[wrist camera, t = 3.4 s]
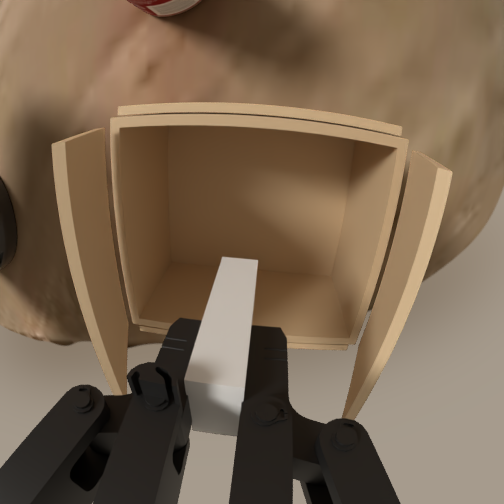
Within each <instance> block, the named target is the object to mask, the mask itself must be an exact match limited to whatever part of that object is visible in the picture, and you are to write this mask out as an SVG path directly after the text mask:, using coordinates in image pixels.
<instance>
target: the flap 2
mask: <svg viewBox="0 0 504 504" xmlns="http://www.w3.org/2000/svg"><path fill="white" fill-rule="evenodd" d="M452 173H453V172H452V171H450V170H449V169H447V168H446V167H444V166H443V165H441V164H439V163H438V162H436V161H434V160H433V159H431V158H430V157H428V156H426V155H424V154H423V153H421V152H417V151H413V150H412V155H411V161H410V166H409V172H408V177H407V183H406V188H405V193H404V197H403V202H402V207H401V211H400V215H399V220H398V224H397V228H396V232H395V236H394V239H393V243H392V247H391V251H390V254H389V258H388V261H387V265H386V268H385V271H384V275H383V278H382V281H381V284H380V287H379V291H378V294H377V297H376V300H375V303H374V305H373V308H372V311H371V314H370V317H369V320H368V322H367V325H366V328H365V330H364V333H363V336H362V338H361V341H360V344H359V347H358V352H357V357H356V362H355V366H354V371H353V375H352V380H351V384H350V388H349V392H348V396H347V400H346V404H345V408H344V412H343V415H342V418H347V419H351V420H354V419H355V418H356V416H357V414H358V413H359V411H360V409H361V408H362V406H363V405H364V403H365V401H366V400H367V398H368V396H369V394H370V393H371V391H372V389H373V387H374V385H375V384H376V382H377V380H378V378H379V376H380V374H381V372H382V371H383V369H384V367H385V365H386V363H387V361H388V359H389V357H390V355H391V353H392V351H393V349H394V346H395V344H396V342H397V340H398V338H399V336H400V334H401V331H402V329H403V327H404V325H405V322H406V320H407V318H408V315H409V313H410V311H411V308H412V306H413V303H414V301H415V298H416V296H417V293H418V291H419V288H420V285H421V283H422V280H423V277H424V274H425V271H426V269H427V266H428V263H429V260H430V257H431V254H432V251H433V247H434V244H435V241H436V237H437V234H438V231H439V227H440V224H441V220H442V216H443V212H444V208H445V204H446V200H447V196H448V192H449V187H450V182H451V178H452Z"/></svg>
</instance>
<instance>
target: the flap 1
mask: <svg viewBox="0 0 504 504" xmlns="http://www.w3.org/2000/svg"><path fill="white" fill-rule="evenodd" d="M52 159H53V171H54V181H55V190H56V197H57V205H58V211H59V218H60V224H61V229H62V235H63V240H64V245H65V249H66V254H67V259H68V263H69V267H70V271H71V275H72V279H73V283H74V287H75V290H76V294H77V297H78V301H79V304H80V308H81V311H82V314H83V317H84V320H85V323H86V326H87V329H88V332H89V335H90V338H91V341H92V344H93V346H94V349H95V352H96V354H97V357H98V360H99V362H100V365H101V367H102V369H103V372H104V374H105V377H106V379H107V382H108V384H109V386H110V388H111V391H112V393H113V395H126V394H127V377H126V376H127V346H128V326H129V323H128V319H127V314H126V310H125V305H124V300H123V295H122V290H121V285H120V280H119V274H118V268H117V262H116V256H115V249H114V242H113V235H112V227H111V219H110V210H109V200H108V188H107V174H106V154H105V128H97V129H93V130H90V131H87V132H84V133H81V134H78V135H75V136H72V137H70V138H67V139H64V140H61V141H59V142H56V143H53V144H52Z"/></svg>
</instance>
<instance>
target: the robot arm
mask: <svg viewBox="0 0 504 504" xmlns="http://www.w3.org/2000/svg"><path fill="white" fill-rule="evenodd" d="M16 244H17V231H16V222H15V217H14V212H13V208H12V205H11V202H10V199H9V196H8V194H7V191H6V189H5V187H4V185H3V183H2V181H1V179H0V270H1V269H2V268H3V267H5V266H6V265H7V264H8V263H9V262H10V261H11V260H12V258H13V257H14V254H15V250H16ZM257 267H258V260H252V259H241V258H230V257H222V260H221V263H220V266H219V269H218V272H217V275H216V278H215V281H214V285H213V288H212V291H211V294H210V297H209V300H208V303H207V306H206V310H205V313H204V316H203V319H202V320H195V319H187V318H179V319H178V320H176V321H175V322H174V323H173V324H172V325H171V326H170V328H169V330H168V332H167V335H166V339H164V342H163V344H162V348H161V349H160V351H159V354H158V357H157V359H156V361H155V363H151V362H148V363H144V364H140V365H138V366H136V367H135V368H133V369H131V371H130V372H129V373H128V375H127V376H126V377H127V379H128V382H129V385H130V388H131V391H132V393H131V394H126V395H108V396H107V395H106V396H103V394H102V392H101V391H100V390H98V389H97V388H96V387H93V386H91V385H79V386H75V387H73V388H71V389H70V390H69V391H68V392H66V394H65V395H64V396H63V397H62V398H61V399H60V400H59V401H58V402H57V403H56V405H55V406H54V407H53V408H52V409H51V410H50V412H48V414H47V415H46V416H45V417H44V418H43V419H42V420H41V422H40V423H39V424H38V425H37V426H36V427H35V428H34V429H33V430H32V432H31V433H30V434H29V435H28V437H26V439H25V440H24V441H23V442H22V443H21V444H20V446H19V447H18V448H17V449H16V450H15V452H14V453H13V454H12V455H11V456H10V457H9V459H8V460H7V461H6V462H5V464H4V465H3V466H2V467H1V468H0V504H92V503H93V504H177V503H178V498H179V493H180V489H181V484H182V479H183V475H184V470H185V465H186V460H187V456H188V451H189V447H190V442H189V433H190V429H191V424H192V430H194V431H200V432H207V433H214V434H222V435H230V436H237V442H236V451H235V459H234V467H233V475H232V483H231V492H230V499H229V504H292V503H293V502H292V501H293V500H292V499H293V479H296V480H299V481H300V483H301V486H302V489H303V492H304V496H305V499H306V502H307V504H400V502H399V499H398V497H397V495H396V493H395V491H394V488H393V486H392V484H391V482H390V479H389V477H388V475H387V473H386V471H385V469H384V466H383V464H382V462H381V460H380V458H379V456H378V454H377V452H376V449H375V447H374V445H373V443H372V441H371V439H370V437H369V435H368V433H367V431H366V430H365V429H364V427H363V426H362V425H361V424H359V423H358V422H356V421H355V420H351V419H347V418H342V419H335V420H332V421H330V422H328V423H327V424H324V423H320V422H317V421H313V420H310V419H307V418H305V417H303V416H301V415H299V414H298V413H297V412H296V411H295V410H294V409H293V408H292V406H291V404H290V402H289V397H288V362H287V337H286V336H285V334H284V332H283V331H282V329H281V327H270V326H258V325H252V321H253V311H254V300H255V289H256V278H257ZM93 501H94V502H93Z"/></svg>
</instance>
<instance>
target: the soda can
mask: <svg viewBox="0 0 504 504" xmlns="http://www.w3.org/2000/svg"><path fill="white" fill-rule="evenodd" d="M127 1H128V2H130V3H132V4H133V5H135V6H136V7H138V8H139V9H141V10H142V11H144V12H146V13H148V14H150V15H153V16H160V17H166V16H173V15H177V14H181V13H183V12H186V11H188V10H190V9H191V8H193V7H195V6H196V5H197V4H199V3H200V2H201V1H202V0H127Z"/></svg>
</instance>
